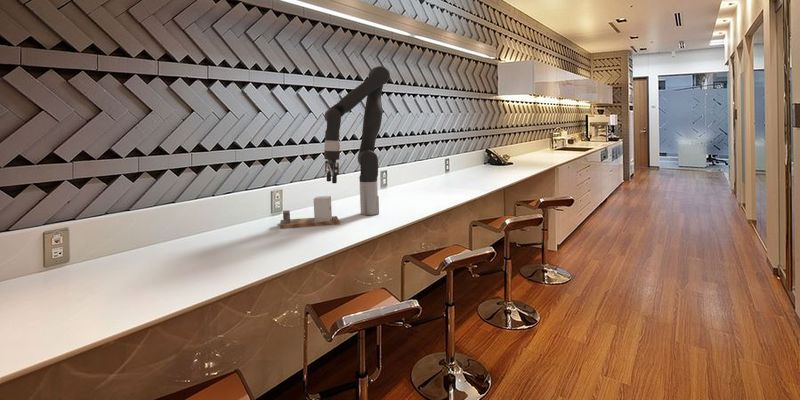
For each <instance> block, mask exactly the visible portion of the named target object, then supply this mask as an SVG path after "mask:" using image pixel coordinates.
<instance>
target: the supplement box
mask: <svg viewBox="0 0 800 400" xmlns="http://www.w3.org/2000/svg"><path fill="white" fill-rule="evenodd" d="M332 211H333V210H332V196H331V195H323V196H317V195H316V196H315V197H314V198H313V215H314V216H313V218H314V220H315V221H314V222H324V221H332V216H333V214H332V213H333V212H332Z"/></svg>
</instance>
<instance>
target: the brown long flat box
mask: <svg viewBox="0 0 800 400" xmlns="http://www.w3.org/2000/svg"><path fill="white" fill-rule="evenodd" d="M282 218H283V219H280V221H279V222H280V223H279V227H280V229H291V228H293V229H294V228H295V229H296V228H304V227H305V228H308V227H317V226H318V227H320V226H332V225H340V224H341V223H340V222H341V221H340V220H339V218H338V216H337V215H332V221H324V222H315V220H314V217H304V218H303V217H301V218H292V219H291V213H290V209H289V210H283V211H282Z"/></svg>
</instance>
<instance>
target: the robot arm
mask: <svg viewBox="0 0 800 400" xmlns="http://www.w3.org/2000/svg"><path fill="white" fill-rule="evenodd" d="M390 75H391V73H390V71H389V69H388V67H385V66H383V65H378V66H375V67H373V68H371V69H370V70H369V73H368V75H367V78H366V79H365V80H364V81H363V82H362V83H360V84H359V85H357V86H356V87H355V88H353V89H352V90H350V91H349V92H348V93H347V94H346V95H345V96H343V97H342V98H341V99H340V100H339V101H338V102H337V103H335V104H334V105H332V106H331V107H330V108H328V109H327V110H326V111H325V113H324V120H325V121H326V129H325V132H324V149H323V150H324V151H323V152H324V154H323V156H324V157H323V158H324V160H325V161H324V173H325V174H326V182H327V183H328V182H331V184H337V183H338V182H337V180H338V175H339V174H340V171H339V169H340V164H339V163H340V162H337V161H339V160H340V158H341V157H340V151H341V149H340V148H341V147H340V146H341V145H340V130H341V122H342V117H343V116H344V115H345V114H347V113H349V112H350V111H352V110H353V109H354V108H355V107H356V106H358V105H359V103H361V102H362V101H363V100H364V99H365V98H366V101H365V106H364V107H365V108H364V112H363V113H364V114H363V120H362V130H361V132H362V133H361V141H360V146H359V151H358V155H357V162H358V164H359V166H360V173H359V174H360V175H359V178H358V179H359V198H360V199H359V204H360V205H359V206H360V215H363V216H375V215H380V204H379V203H380V201H379V193H378V176H379V158H378V157H379V156H378V155H377V153H376V152H375V146H376V145H375V144H376V140H377V137H378V135H379V132H380V129H381V125H382V119H383V103H382V92H383V87H384V85H385V84H386V85H387V83H388V82H389V80H390V77H391V76H390Z"/></svg>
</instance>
